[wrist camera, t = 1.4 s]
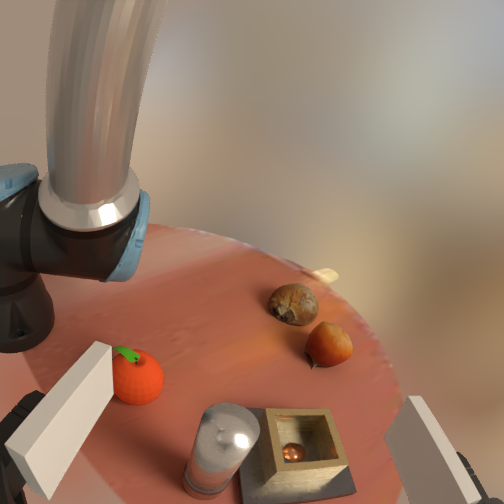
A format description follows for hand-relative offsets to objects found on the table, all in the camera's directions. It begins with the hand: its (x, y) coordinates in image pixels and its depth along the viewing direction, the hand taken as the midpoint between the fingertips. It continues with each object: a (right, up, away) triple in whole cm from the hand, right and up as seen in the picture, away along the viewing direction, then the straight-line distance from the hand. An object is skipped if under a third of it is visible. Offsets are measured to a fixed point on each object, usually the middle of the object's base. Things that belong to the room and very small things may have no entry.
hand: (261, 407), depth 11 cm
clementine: (-16, -12, +23) cm, 30 cm away
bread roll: (+7, -6, +50) cm, 51 cm away
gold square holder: (+4, -19, +20) cm, 28 cm away
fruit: (+12, -12, +39) cm, 43 cm away
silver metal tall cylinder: (-6, -19, +14) cm, 24 cm away
